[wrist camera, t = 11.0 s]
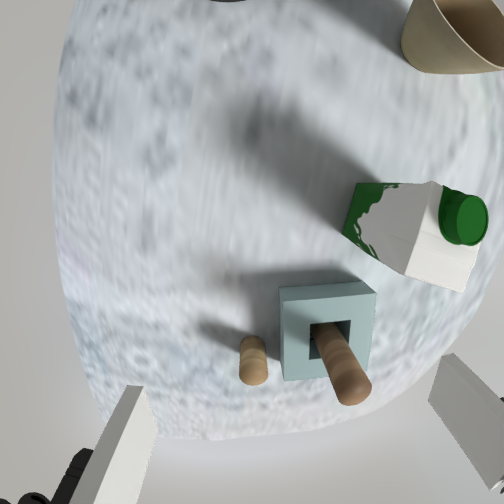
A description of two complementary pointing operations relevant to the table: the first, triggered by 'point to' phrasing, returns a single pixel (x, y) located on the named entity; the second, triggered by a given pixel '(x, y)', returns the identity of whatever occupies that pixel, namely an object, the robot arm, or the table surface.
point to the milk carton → (419, 230)
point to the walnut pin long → (341, 364)
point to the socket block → (320, 311)
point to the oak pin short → (253, 361)
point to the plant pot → (454, 36)
